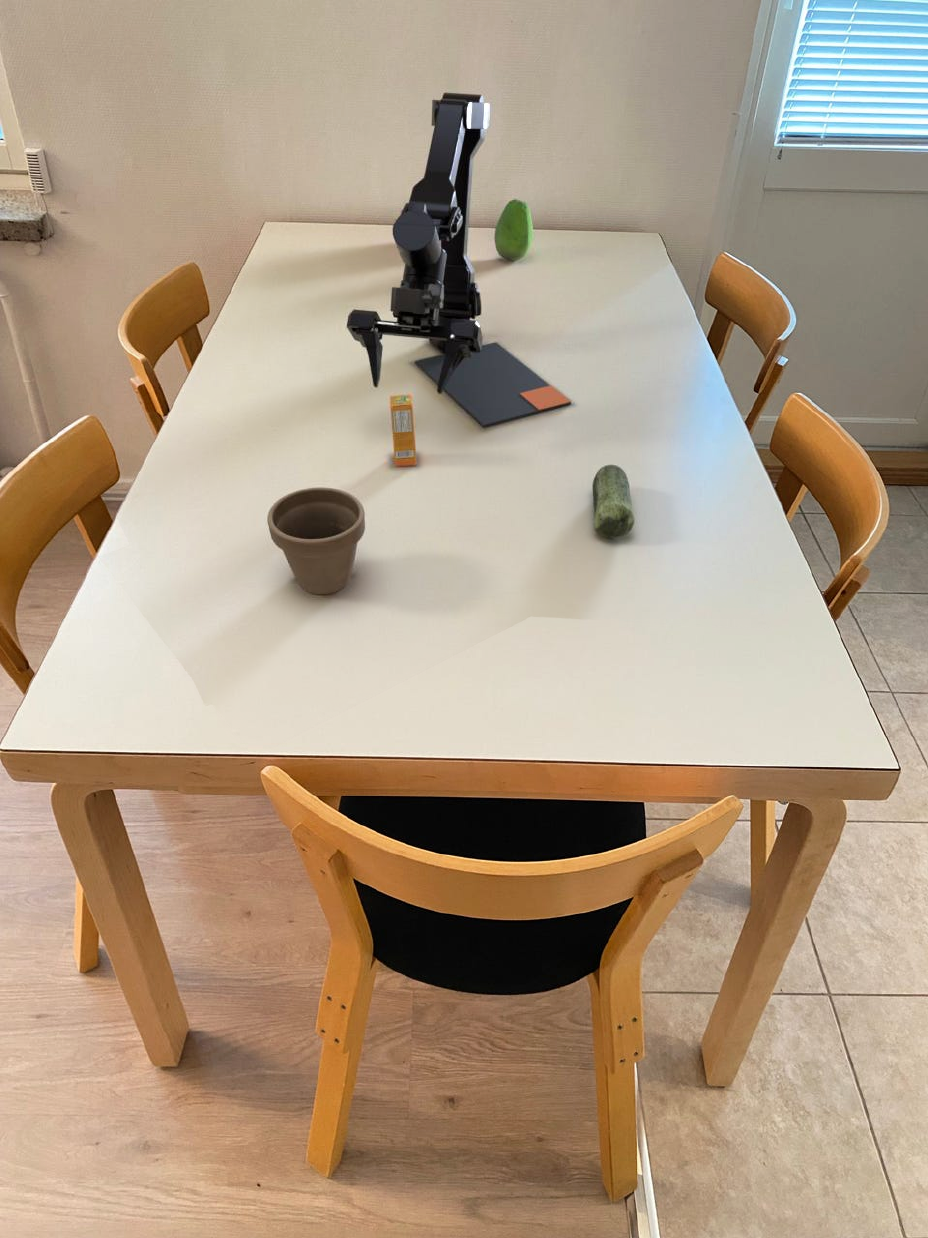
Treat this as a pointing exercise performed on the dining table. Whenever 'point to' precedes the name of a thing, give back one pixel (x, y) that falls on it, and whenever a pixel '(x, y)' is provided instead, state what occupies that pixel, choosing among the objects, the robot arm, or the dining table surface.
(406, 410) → the supplement box
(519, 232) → the avocado
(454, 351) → the robot arm
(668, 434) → the dining table surface
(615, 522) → the vegetable
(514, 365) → the mat
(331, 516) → the flower pot
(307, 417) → the dining table surface
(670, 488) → the dining table surface
